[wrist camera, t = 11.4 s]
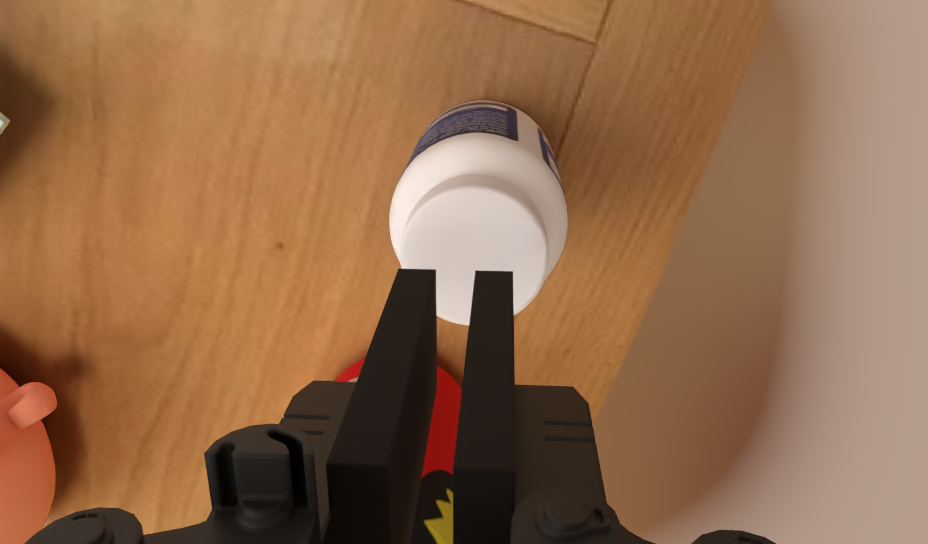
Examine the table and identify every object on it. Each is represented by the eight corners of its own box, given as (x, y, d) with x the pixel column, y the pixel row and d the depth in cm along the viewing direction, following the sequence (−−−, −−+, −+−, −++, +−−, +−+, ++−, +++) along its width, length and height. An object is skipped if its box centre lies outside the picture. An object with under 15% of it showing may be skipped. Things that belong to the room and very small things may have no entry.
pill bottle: (387, 186, 29) (333, 281, 20) (464, 69, 28) (443, 115, 19) (501, 261, 30) (498, 384, 21) (583, 152, 28) (618, 235, 19)
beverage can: (320, 451, 34) (229, 683, 23) (339, 328, 32) (249, 519, 21) (456, 479, 34) (432, 723, 23) (486, 359, 32) (475, 565, 21)
